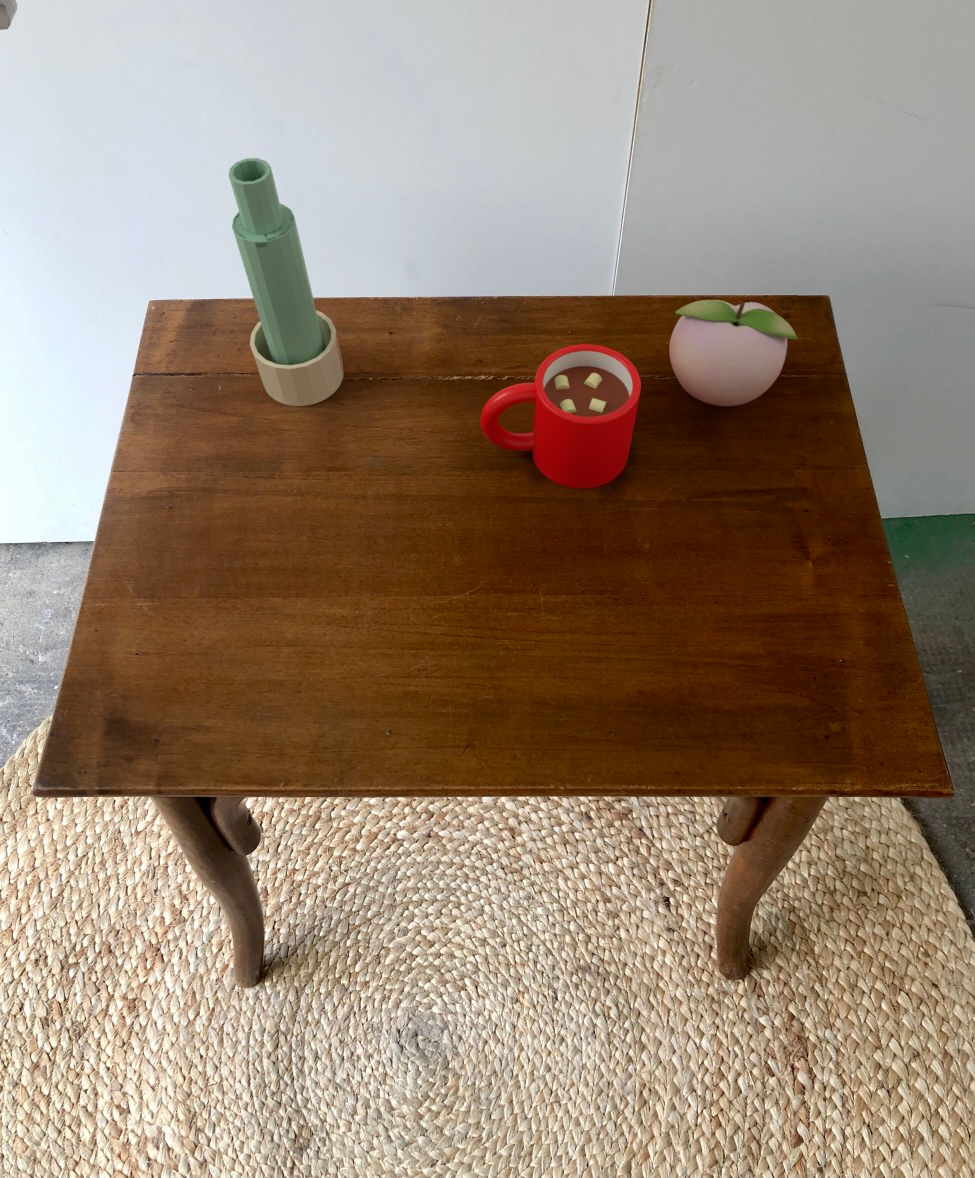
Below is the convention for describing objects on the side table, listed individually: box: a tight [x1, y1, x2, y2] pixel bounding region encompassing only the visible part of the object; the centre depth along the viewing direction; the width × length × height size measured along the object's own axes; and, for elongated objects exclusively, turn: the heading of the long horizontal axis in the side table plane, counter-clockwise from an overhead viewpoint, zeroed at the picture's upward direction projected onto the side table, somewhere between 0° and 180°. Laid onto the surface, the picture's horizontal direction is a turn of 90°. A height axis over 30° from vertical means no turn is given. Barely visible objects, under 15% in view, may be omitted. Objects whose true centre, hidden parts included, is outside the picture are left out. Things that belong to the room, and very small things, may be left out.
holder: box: [249, 309, 345, 407], centre depth 76 cm, size 7×7×4 cm
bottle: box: [228, 157, 325, 365], centre depth 69 cm, size 4×4×19 cm
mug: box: [479, 343, 642, 489], centre depth 70 cm, size 8×12×8 cm, turn 95°
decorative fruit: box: [668, 299, 798, 407], centre depth 72 cm, size 9×8×10 cm
